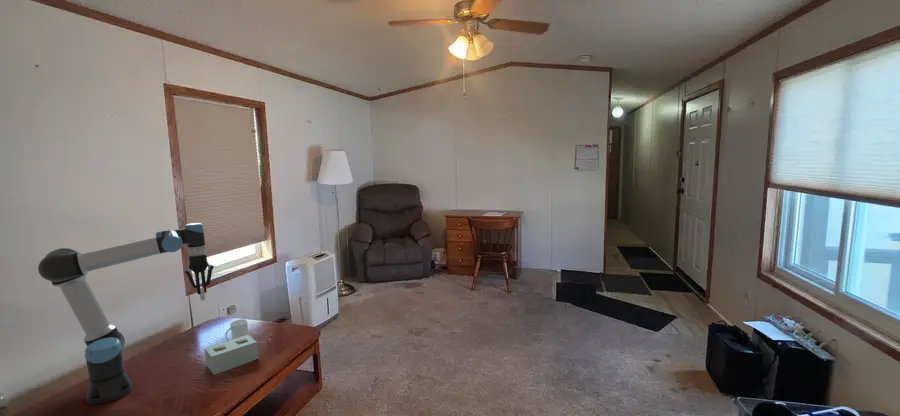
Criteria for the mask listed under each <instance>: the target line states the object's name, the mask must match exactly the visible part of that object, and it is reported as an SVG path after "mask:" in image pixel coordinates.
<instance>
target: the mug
mask: <svg viewBox="0 0 900 416" xmlns="http://www.w3.org/2000/svg"><path fill="white" fill-rule="evenodd" d="M229 325H230V326H229V328H228V329H227V330H226V332H225V334H224V335H225V337H224V338H225V340H226V341H230V340H233V339H236V338H239V337H242V336H246V335H249V336H250V334H249V329H248V328H249V326H248V320H247V319H245V318H244V319H241V318H240V319H236V320H234V321H231V322H230V324H229ZM229 331H230V332H231V339H228V336H227V335H228V333H229Z"/></svg>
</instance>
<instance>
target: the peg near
mask: <svg viewBox="0 0 900 416" xmlns="http://www.w3.org/2000/svg"><path fill="white" fill-rule="evenodd" d="M224 349H225V348H224V346H219V347H216V348H215V352H218V351H221V350H224Z"/></svg>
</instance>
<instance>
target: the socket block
mask: <svg viewBox="0 0 900 416" xmlns="http://www.w3.org/2000/svg"><path fill="white" fill-rule="evenodd" d="M241 339H246V342H245V343H242V344H239V345H238V343H237V341H238V340H241ZM229 340H230V341H227V340H226V341H224V342H220V343H216V344H215V345H210V346H208V347H205V348H204V352H205V353H204V354H205V363H206V367H207V368H208V369H209V371H210V372H211V373H212V375H217V374H220V373H223V372H226V371H228V370H232V369H234V368H237V367H239V366H240V367H241V366H242V365H246V364H248V363H250V362H251V363H252V362H254V361H257V360H259V352H258V342H257V341H256V340H255V339H254V338H253V337H252V336H250V334H249V335H246V336H242V337H239V338H236V339H233V340H232V339H229ZM219 346H224V348H225V349H224V350H221V351H218V352H215V348H216V347H219ZM256 359H257V360H256ZM253 360H254V361H253Z"/></svg>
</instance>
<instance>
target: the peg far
mask: <svg viewBox="0 0 900 416" xmlns="http://www.w3.org/2000/svg"><path fill="white" fill-rule="evenodd" d="M245 342H246V339H241V340H238V341H237V343H238V345H239V344H242V343H245Z"/></svg>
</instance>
